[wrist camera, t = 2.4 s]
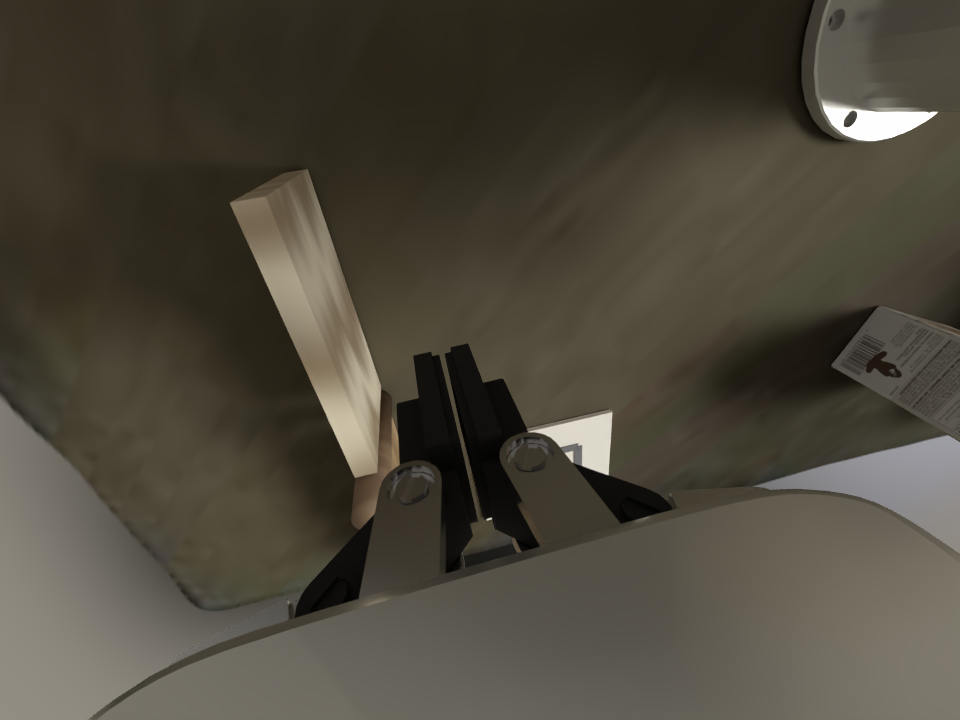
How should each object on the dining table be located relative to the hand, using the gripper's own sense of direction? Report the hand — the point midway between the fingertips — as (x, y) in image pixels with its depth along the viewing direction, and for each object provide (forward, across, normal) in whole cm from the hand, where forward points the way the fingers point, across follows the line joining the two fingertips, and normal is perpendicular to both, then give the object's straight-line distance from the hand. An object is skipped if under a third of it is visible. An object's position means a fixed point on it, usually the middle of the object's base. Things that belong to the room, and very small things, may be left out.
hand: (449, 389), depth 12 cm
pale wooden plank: (+14, +5, +1) cm, 15 cm away
